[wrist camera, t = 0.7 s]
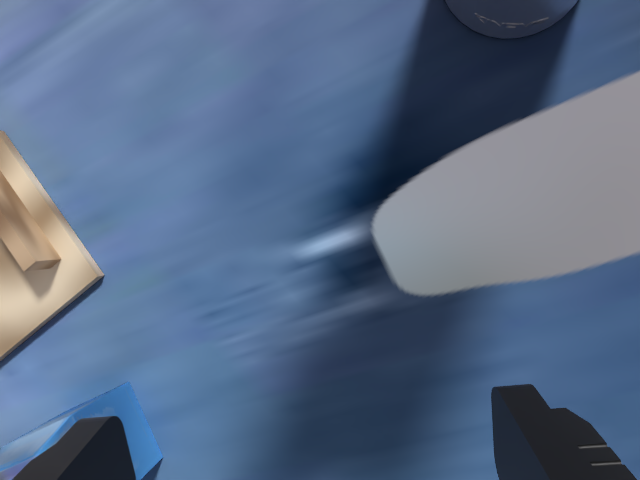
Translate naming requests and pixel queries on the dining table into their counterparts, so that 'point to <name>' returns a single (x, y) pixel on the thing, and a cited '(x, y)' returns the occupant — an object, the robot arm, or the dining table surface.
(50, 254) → the u cradle
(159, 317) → the dining table surface
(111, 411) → the perfume bottle
